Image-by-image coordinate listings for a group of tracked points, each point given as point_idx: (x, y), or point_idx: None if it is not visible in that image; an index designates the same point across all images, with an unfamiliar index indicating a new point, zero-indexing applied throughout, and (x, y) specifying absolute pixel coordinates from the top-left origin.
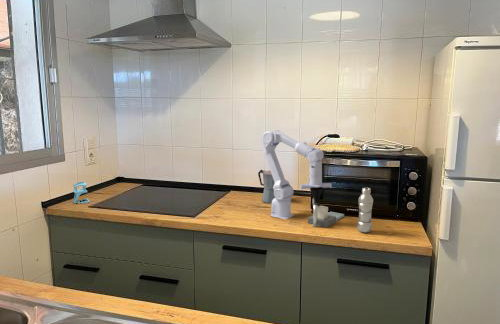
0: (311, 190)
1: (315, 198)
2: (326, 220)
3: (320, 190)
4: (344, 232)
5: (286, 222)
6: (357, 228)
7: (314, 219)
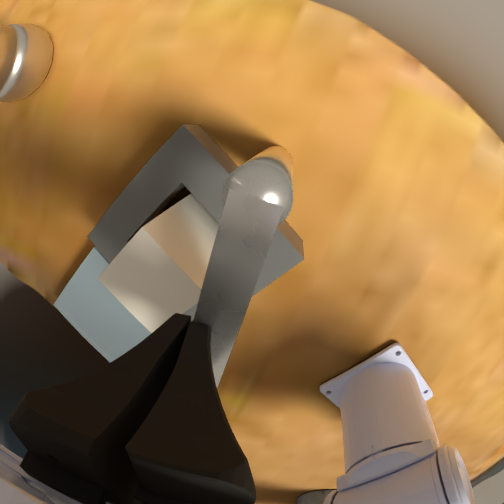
0: (254, 493)
1: (198, 356)
2: (173, 162)
3: (50, 417)
4: (123, 42)
5: (417, 299)
6: (48, 64)
7: (285, 155)
